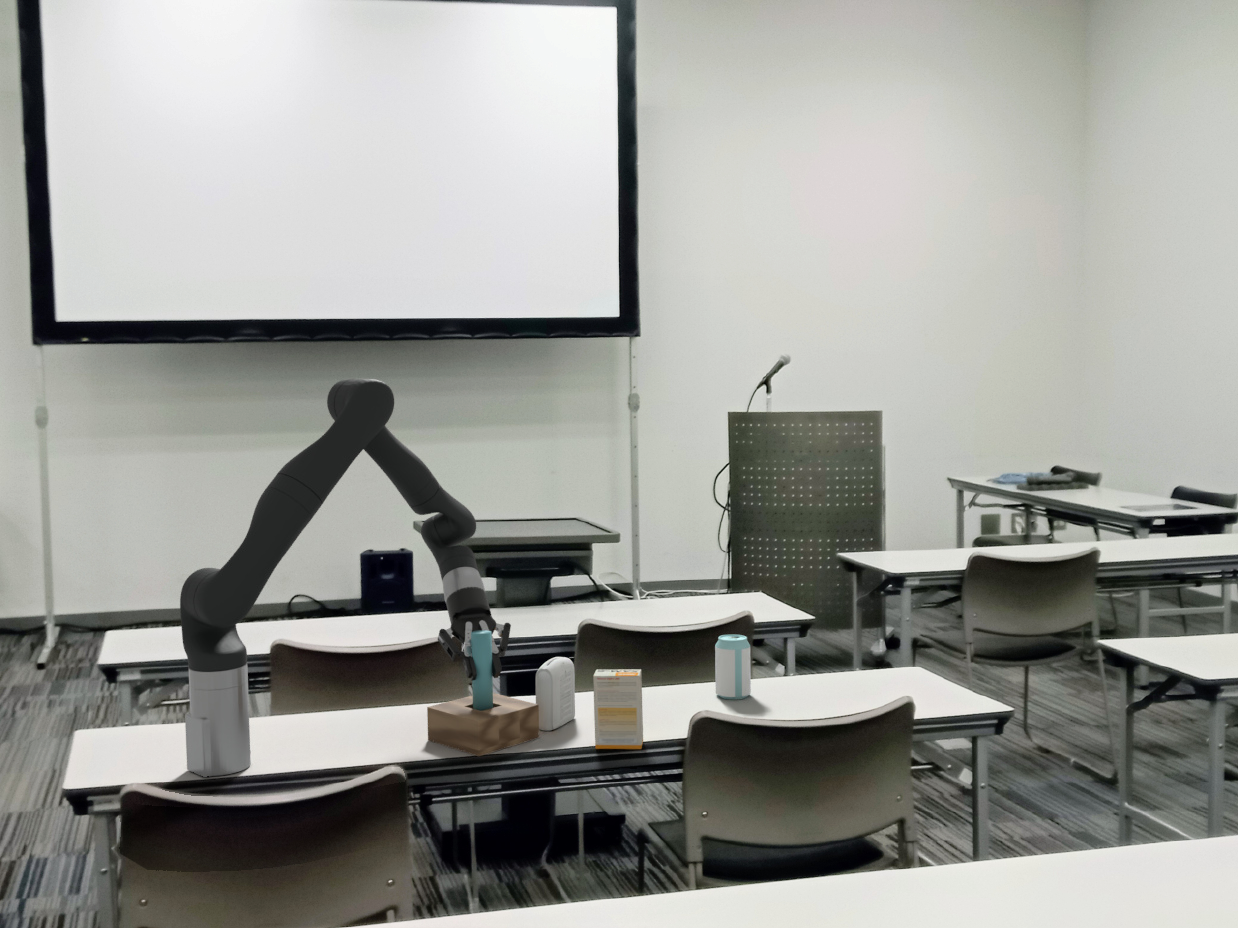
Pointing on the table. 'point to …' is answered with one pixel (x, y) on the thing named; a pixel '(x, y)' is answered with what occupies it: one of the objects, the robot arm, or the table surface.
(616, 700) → the supplement box
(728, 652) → the can
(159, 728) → the table surface
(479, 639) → the pin
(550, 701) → the photo printer
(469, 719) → the socket block
